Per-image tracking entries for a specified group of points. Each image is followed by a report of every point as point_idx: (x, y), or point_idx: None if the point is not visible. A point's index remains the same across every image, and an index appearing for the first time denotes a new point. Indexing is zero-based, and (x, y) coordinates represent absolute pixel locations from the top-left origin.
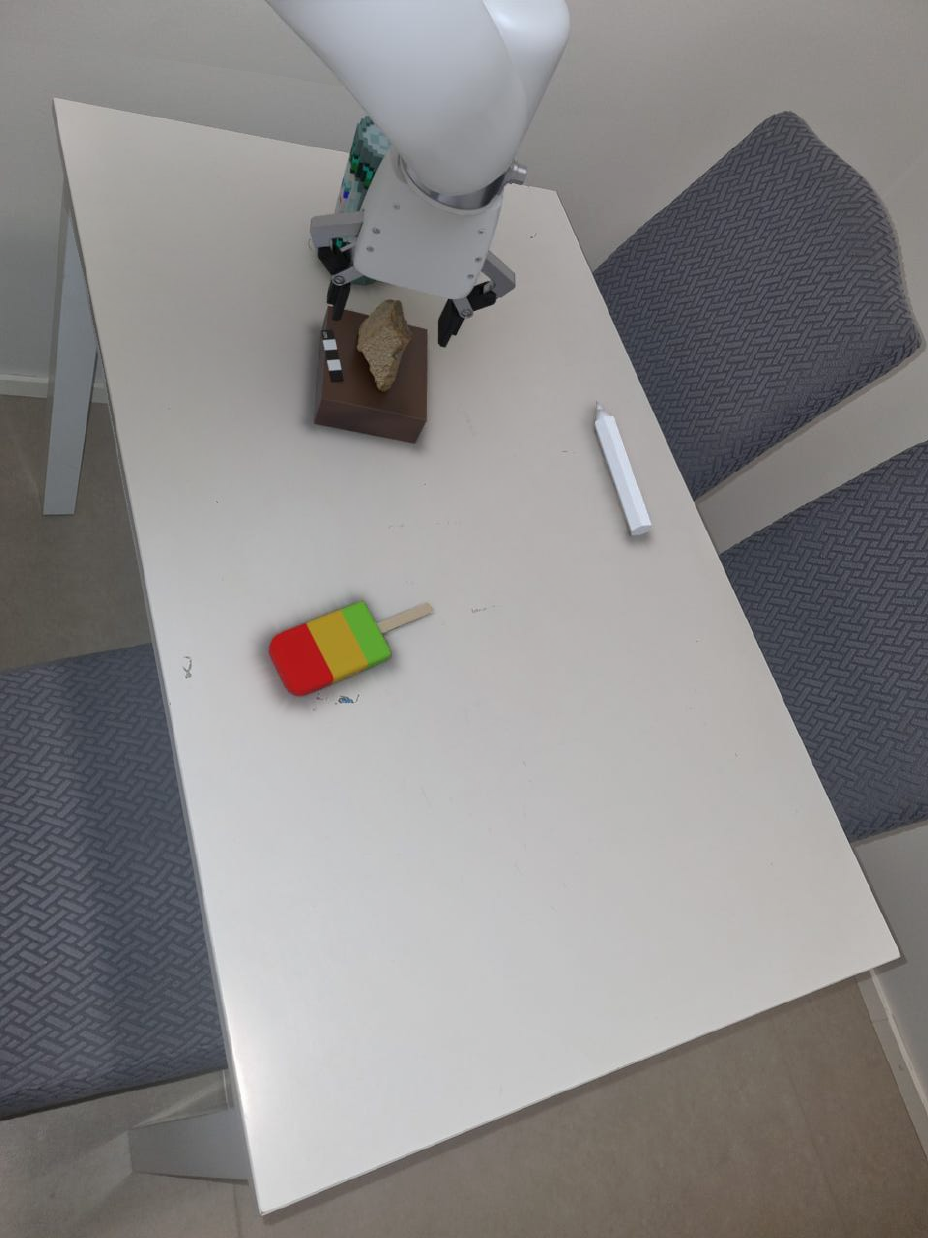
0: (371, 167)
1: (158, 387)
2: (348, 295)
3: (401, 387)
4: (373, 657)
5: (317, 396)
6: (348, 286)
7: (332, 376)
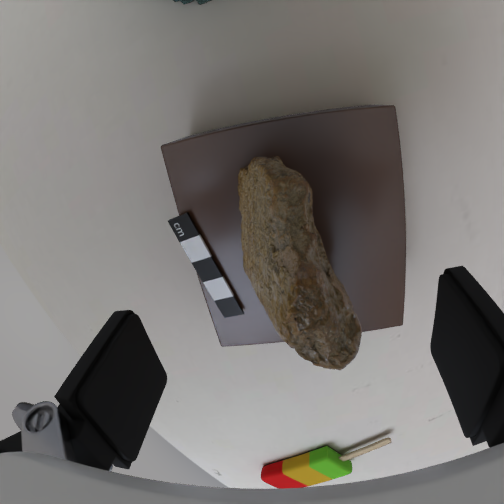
0: None
1: (71, 310)
2: (138, 451)
3: (355, 282)
4: (337, 477)
5: None
6: (122, 456)
7: (223, 309)
